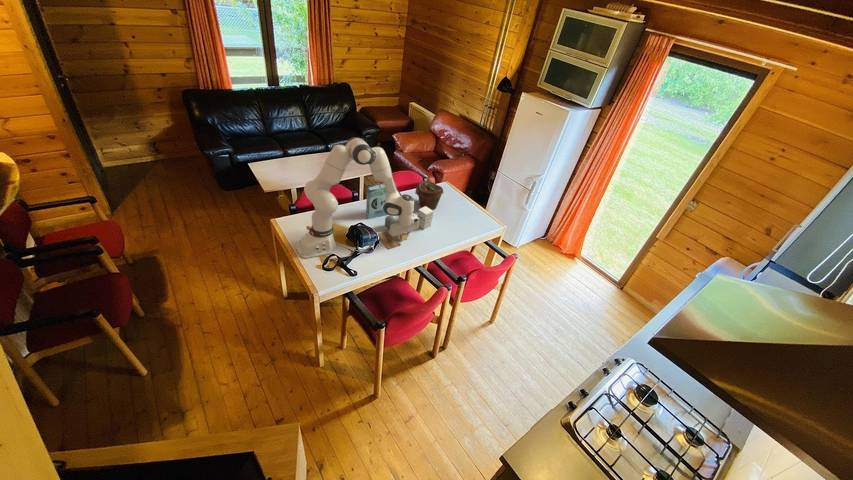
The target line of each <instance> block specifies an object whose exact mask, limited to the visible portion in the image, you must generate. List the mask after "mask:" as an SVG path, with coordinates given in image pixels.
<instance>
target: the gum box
mask: <svg viewBox="0 0 853 480" xmlns="http://www.w3.org/2000/svg"><path fill="white" fill-rule="evenodd" d="M395 185H396V186H397V184H396V183H395ZM386 195H387V191H386V188H385V185H384V183H379V184H373V185H369V186H366V202H365V203H366V207H365V208H366V209H365V216H366V217H367V220H371V219H375V218H379V217H383V216H388V214H386V213H385V212H384V210H383V206H384V203H385V199H386Z"/></svg>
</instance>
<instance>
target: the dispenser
mask: <svg viewBox="0 0 853 480" xmlns="http://www.w3.org/2000/svg"><path fill="white" fill-rule="evenodd" d="M384 219H385V220H384V227H385V228H386V230H387V231H389V230H390V225H391V224H392V223H394V222H397V221H398V216H391V215H386V217H384Z"/></svg>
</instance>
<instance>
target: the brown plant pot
mask: <svg viewBox="0 0 853 480" xmlns="http://www.w3.org/2000/svg"><path fill="white" fill-rule="evenodd" d="M414 193H415V195H417V197H418V205H419V207H420V209H421V208H423V207H425V206H426V207H428V208H429V209H431V210H433V211H434V210H436V209H437V206H438V204H439V202H440V199H441V197H442V195H443V194H444V188H443V187H442V186H440V185H437V183H434V182H433V181H429V180H422V181H420V182H418V184H417V185H416V189H415V192H414Z"/></svg>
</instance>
